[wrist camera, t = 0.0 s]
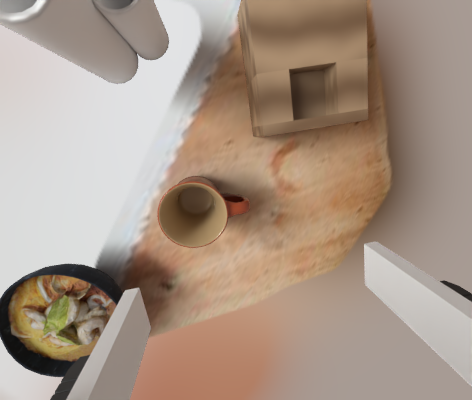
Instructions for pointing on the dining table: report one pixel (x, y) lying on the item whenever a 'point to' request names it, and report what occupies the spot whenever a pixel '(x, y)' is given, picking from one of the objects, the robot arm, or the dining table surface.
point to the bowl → (56, 316)
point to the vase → (91, 32)
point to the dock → (304, 63)
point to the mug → (197, 211)
